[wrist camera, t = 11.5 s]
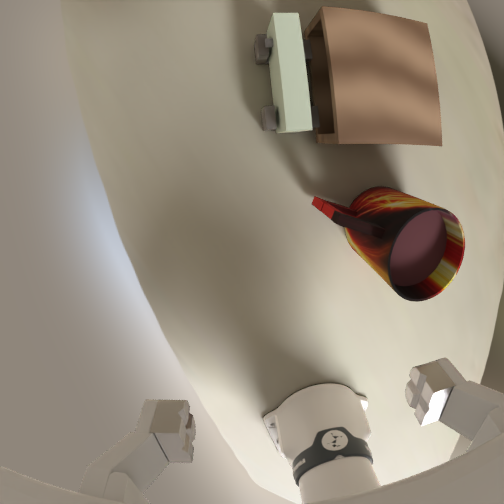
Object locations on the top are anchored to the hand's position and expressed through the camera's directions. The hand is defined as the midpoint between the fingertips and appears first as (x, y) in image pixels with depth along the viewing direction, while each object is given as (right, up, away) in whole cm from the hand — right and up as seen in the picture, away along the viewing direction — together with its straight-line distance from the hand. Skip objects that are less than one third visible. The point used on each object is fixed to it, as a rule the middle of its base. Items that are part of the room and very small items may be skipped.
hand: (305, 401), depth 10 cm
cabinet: (+8, +24, +21) cm, 33 cm away
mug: (+12, +9, +28) cm, 32 cm away
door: (+1, +24, +21) cm, 32 cm away
